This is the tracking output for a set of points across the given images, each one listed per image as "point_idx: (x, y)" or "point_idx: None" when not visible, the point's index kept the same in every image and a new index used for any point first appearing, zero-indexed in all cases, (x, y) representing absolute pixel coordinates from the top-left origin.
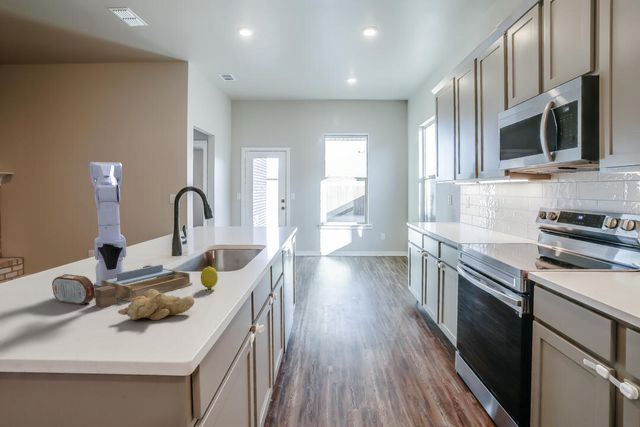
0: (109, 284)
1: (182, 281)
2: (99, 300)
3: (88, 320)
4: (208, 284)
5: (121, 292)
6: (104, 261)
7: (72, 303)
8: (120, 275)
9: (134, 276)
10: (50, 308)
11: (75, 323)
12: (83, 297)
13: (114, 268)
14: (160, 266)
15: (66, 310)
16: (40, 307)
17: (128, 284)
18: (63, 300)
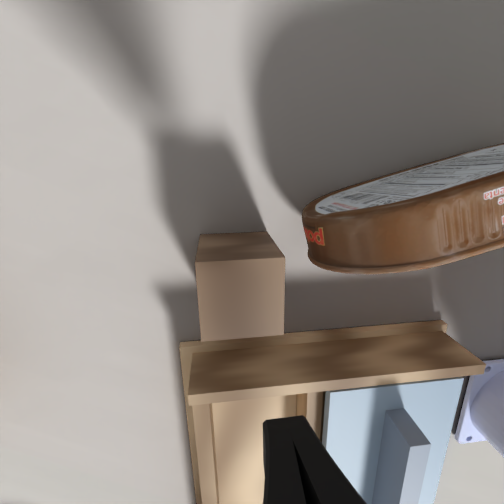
0: (393, 364)
1: None
2: (228, 241)
3: (24, 96)
4: None
5: (271, 358)
6: (345, 486)
7: (389, 175)
8: (400, 443)
9: (378, 478)
10: (414, 73)
11: (23, 28)
12: (328, 203)
13: (263, 461)
14: None
15: (305, 107)
16: (480, 50)
17: None
18: (456, 158)
